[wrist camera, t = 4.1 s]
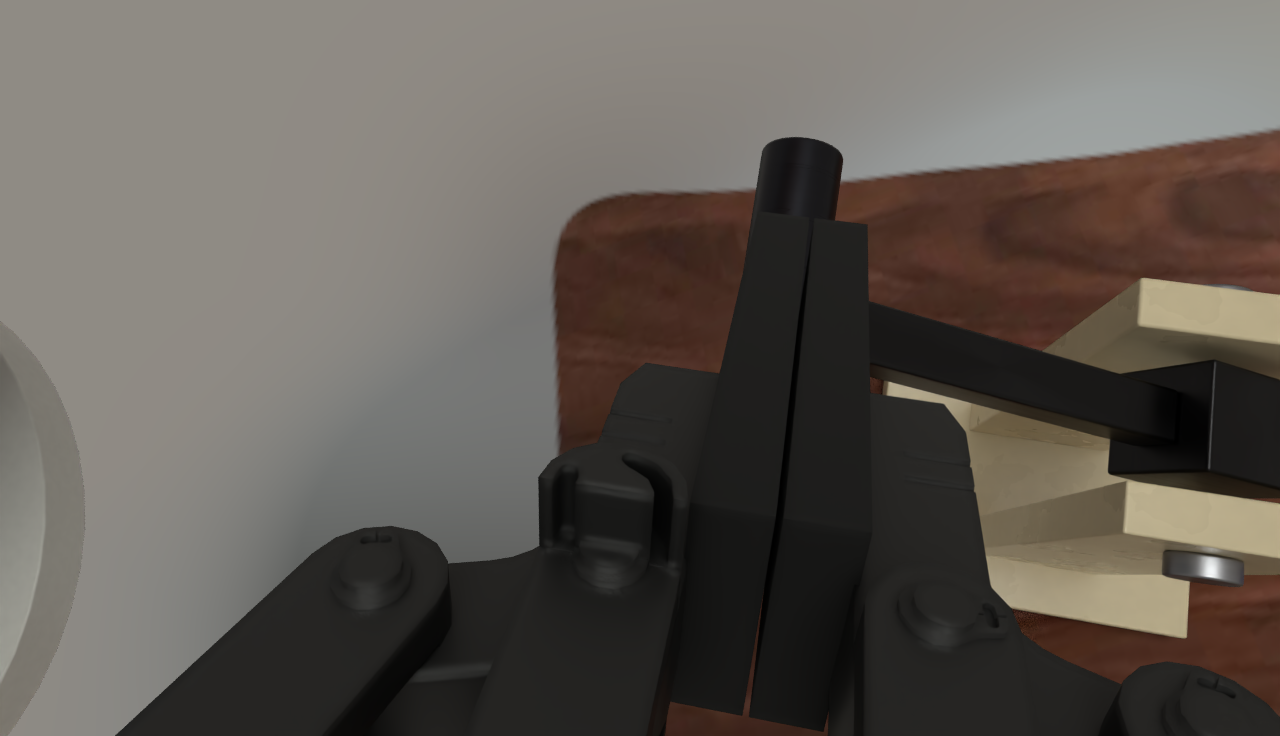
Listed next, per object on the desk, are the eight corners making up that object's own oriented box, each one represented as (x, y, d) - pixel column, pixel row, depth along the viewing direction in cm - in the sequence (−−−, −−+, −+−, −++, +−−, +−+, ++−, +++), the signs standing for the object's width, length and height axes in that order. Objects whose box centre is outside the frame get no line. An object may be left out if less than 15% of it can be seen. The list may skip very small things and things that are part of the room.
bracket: (858, 582, 32) (958, 588, 17) (886, 354, 33) (1000, 187, 19) (1170, 636, 30) (1560, 693, 16) (1184, 397, 32) (1551, 251, 17)
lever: (686, 479, 16) (746, 477, 14) (737, 165, 18) (800, 116, 15) (1200, 587, 20) (1312, 597, 18) (1214, 320, 21) (1321, 299, 19)
